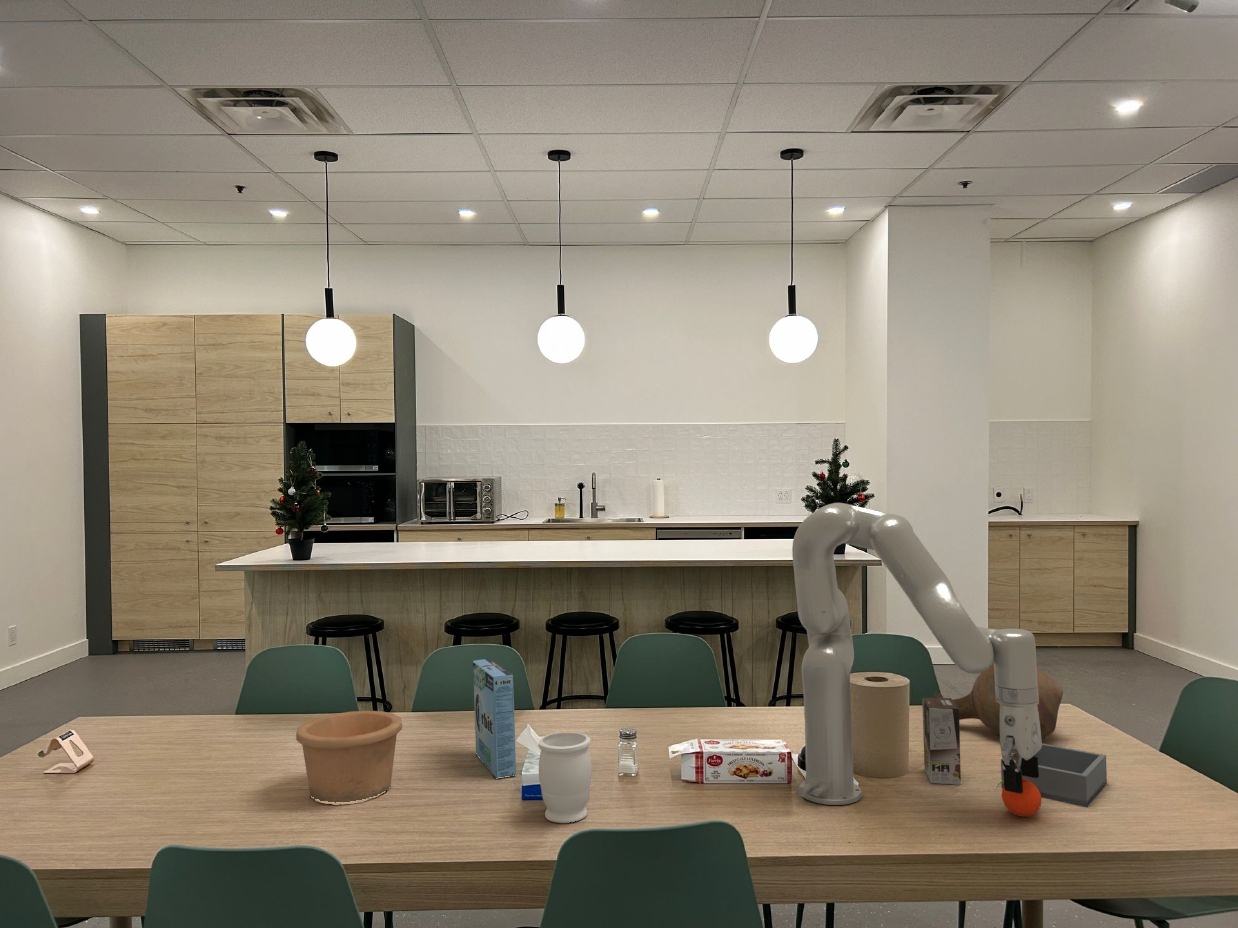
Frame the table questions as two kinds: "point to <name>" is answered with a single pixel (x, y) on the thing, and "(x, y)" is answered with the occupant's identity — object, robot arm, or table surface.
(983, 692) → the jug
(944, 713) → the coffee box
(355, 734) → the pottery
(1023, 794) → the clementine
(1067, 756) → the bin
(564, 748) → the jar
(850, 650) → the robot arm
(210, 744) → the table surface
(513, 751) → the gum box
